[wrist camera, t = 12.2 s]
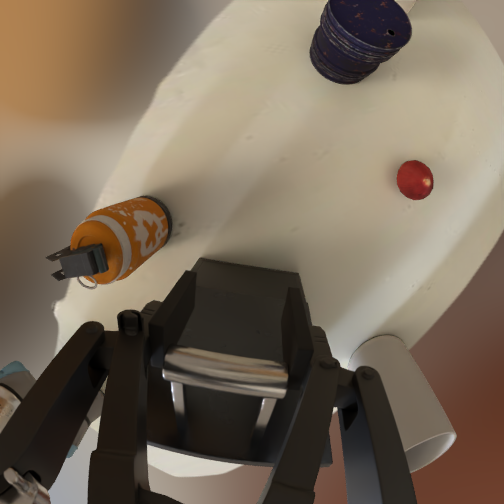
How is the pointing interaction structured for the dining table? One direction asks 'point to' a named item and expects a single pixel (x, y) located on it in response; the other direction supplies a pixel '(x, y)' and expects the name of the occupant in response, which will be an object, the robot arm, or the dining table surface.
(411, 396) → the cylinder vase
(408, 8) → the spray can
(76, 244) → the canister
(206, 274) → the dark grey hollow box
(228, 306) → the lid
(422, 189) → the onion
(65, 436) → the robot arm
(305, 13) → the dining table surface
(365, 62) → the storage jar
